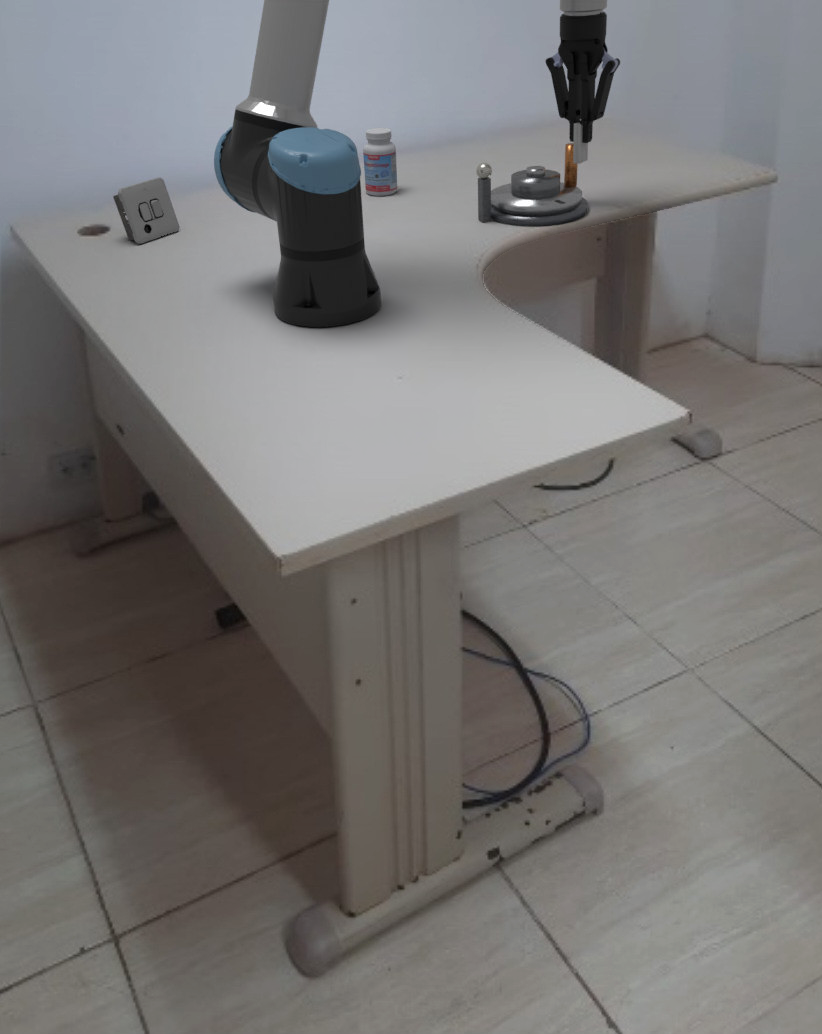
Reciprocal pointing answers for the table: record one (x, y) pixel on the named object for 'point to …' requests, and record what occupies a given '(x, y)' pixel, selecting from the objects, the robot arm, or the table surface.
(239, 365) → the table surface
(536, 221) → the turntable base
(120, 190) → the electrical switch
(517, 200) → the platter
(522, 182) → the cover
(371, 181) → the pill bottle
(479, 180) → the post
